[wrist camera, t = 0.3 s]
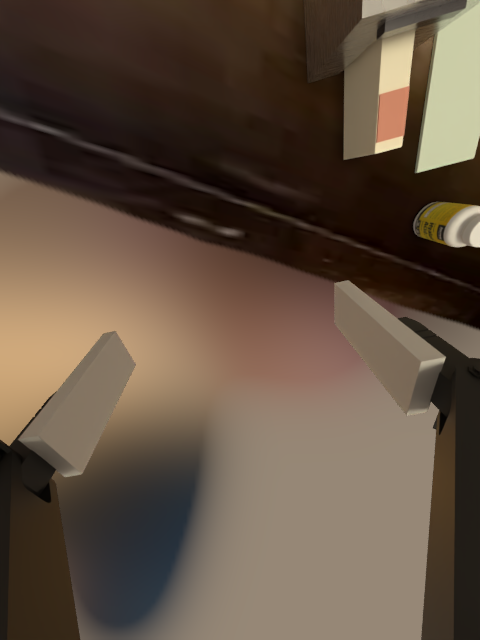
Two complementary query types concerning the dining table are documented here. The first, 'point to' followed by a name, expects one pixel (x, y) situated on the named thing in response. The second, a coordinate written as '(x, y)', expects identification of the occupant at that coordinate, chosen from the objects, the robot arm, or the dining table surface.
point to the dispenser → (368, 27)
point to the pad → (452, 95)
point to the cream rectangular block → (377, 96)
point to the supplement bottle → (449, 224)
